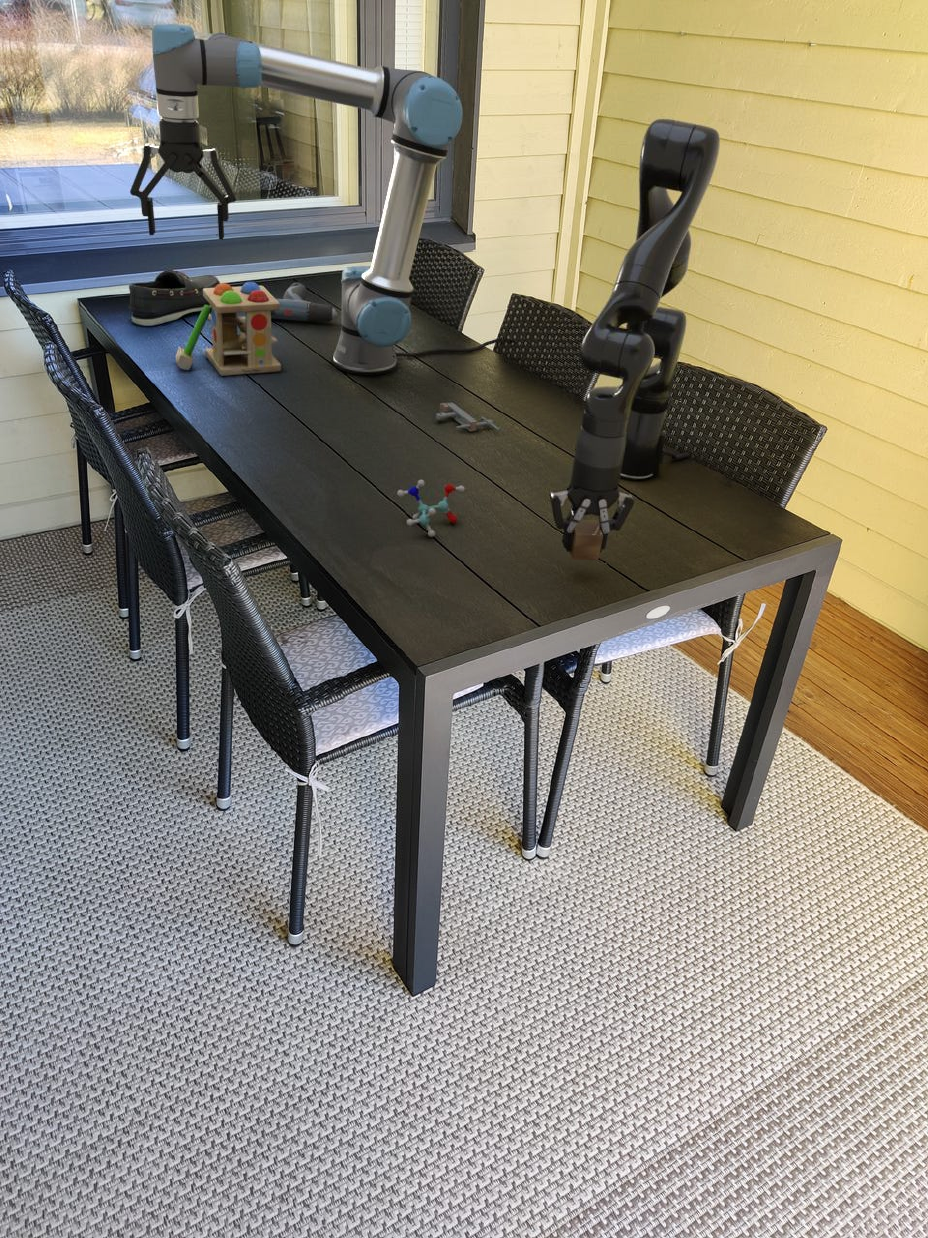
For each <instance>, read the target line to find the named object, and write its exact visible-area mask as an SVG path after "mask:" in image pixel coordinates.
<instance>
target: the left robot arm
mask: <svg viewBox="0 0 928 1238" xmlns="http://www.w3.org/2000/svg"><path fill="white" fill-rule="evenodd" d="M151 45H152V46H151V47H152V51H151V52H152V62H153V71H154V82H155V96H156V107H157V108H156V109H157V115H158V116H159V117H160V119H159V120H158V130H159V146H155V145H152V144H151V143H149V142H148V143H145V145H144V146H143V149H142V150H143V152H142V153H143V154H142V155H143V157H142V160H141V163H140V165H139V168H138V170H137V173H136V176H135V178H134V180H133V183H132V185H131V188H130V191H129V194H130V195H131V196H134V197H137V198H138V199H139V200H140V208H141V215H142V216H143V217H147V222H148V235H149V236H154V235H155V234H156V223H155V213H154V212H155V211H154V199H153V197H149V195H150V194H151V193H152V191H153V190H154V189H155V188H156V186H157V185H158V184H159V182H161V180H162V179H163V177H164V176H165V175H166V174H167V172H168V171H169V170H170V171H171V172H173V173H177V174H178V173H184V174H192V173H193V172H194V173H195V174H196V176H197V177H199V178H200V180H201V181H202V182H203V183H204V185H205V186H206V187H207V188H208V189H209V190H210V192H211V193H212V194H213V195H214V197H215V198H216V199H217V201H219V202H218V203H217V204H216V211H217V224H218V225H217V227H218V229H217V230H218V240H221V241H222V240H224V238H225V226H224V225H225V224H224V223H225V222H226V223H227V222H228V221H229V217H230V216H229V204H231V203H235V202H236V201H237V198H238V195H237V193H236V191H235V189H234V187H233V185H232V183H231V181H230V179H229V177H228V175H227V173H226V171H225V168H224V167H223V166H222V163H221V161H220V156H219V150H218V149H217V148H215V147H213V148H212V149H203V148H202V147H203V146H202V143H201V129H200V128H201V127H200V122H199V121H198V120H197V119H198V118H199V117H200V111H199V109H200V108H199V95H198V86H214V87H225V88H226V87H227V88H240V89H242V90H245V89H256V88H259V87H262V88H267V89H271V90H276V91H279V92H285V93H289V94H293V95H299V96H302V97H307V98H312V99H315V100H321V101H325V102H330V103H335V104H339V105H344V106H347V107H352V108H357V109H361V110H366V111H368V113H369V115H370V116H371V117H373V118H377V119H382V120H385V121H388V122H390V123H392V124H394V127H393V132H392V136H391V141H390V143H391V144H392V146H393V148H394V150H395V157H394V162H393V166H392V171H391V174H390V179H389V183H388V187H387V188H388V189H387V191H386V192H387V193H386V197H385V202H384V206H383V211H382V215H381V220H380V223H379V229H378V232H377V237H376V242H375V246H374V251H373V255H372V261H371V264H370V265H352V266H347V267H345V268H344V269H343V270H342V273H341V280H340V283H341V319H340V321H341V324H340V325H341V326H340V329H341V330H340V336H339V338H338V341H337V344H336V348H335V350H334V352H333V361H332V362H333V363H332V364H333V366H334V367H335V368H337V369H338V370H339V371H342V372H344V373H347V374H352V375H356V376H380V375H381V376H382V375H386V374H389V373H391V372H393V371H395V369H396V368H397V361H398V359H397V357H405V358H406V357H407V358H413V357H421V356H425V355H429V354H435V353H470V352H477V351H479V350H481V349H483V348H485V347H487V346H490V345H493V344H496V343H498V342H502V341H509V342H510V343H513V342H512V341H510V340H508V339H504V340H502V337H503V336H500V337H501V338H500V337H497V338H494V339H492V340H489V341H486V342H483V343H481V344H480V345H478V346H474V347H468V348H450V347H447V348H445V347H444V348H443V347H442V348H441V347H440V348H433V349H428V350H423V351H419V352H395V347H394V346H395V345H397V344H399V343H401V342H402V341H403V340H404V339H405V338H406V337H407V335H408V334H409V332H410V329H411V327H412V314H411V310H410V305H411V301H412V297H413V293H414V286H413V284H412V283H411V280H410V275H411V271H412V268H413V263H414V259H415V254H416V252H417V248H418V242H419V239H420V234H421V232H422V231H421V230H422V227H423V221H424V218H425V213H426V211H427V210H426V209H427V206H428V201H429V198H430V193H431V189H432V186H433V181H434V177H435V173H436V169H437V166H438V164H439V163H441V162H442V161H443V160H445V159H446V158H447V155H448V151H449V146H450V143H451V142H452V141H453V140H454V138H456V137H457V135H458V133H459V132H460V129H461V127H462V123H463V117H464V115H463V114H464V113H463V105H462V101H461V99H460V97H459V95H458V93H457V92H456V91H455V89H454V88H453V87H452V85H451V84H449V83H448V82H447V81H446V80H445V79H443V78H440V77H438V76H434V75H432V74H431V73H428V72H426V71H422V70H414V69H402V68H395V67H389V66H383V65H377V66H376V67H375V68H374V69H372V68H368V67H364V66H360V65H355V64H351V63H346V62H342V61H337V60H335V59H330V58H325V57H320V56H317V55H312V54H307V53H303V52H299V51H295V50H292V49H291V50H290V49H286V48H282V47H277V46H274V45H269V44H265V43H261V42H257V41H250V40H247V39H243V38H239V37H234V36H231V35H230V34H228V33H225V32H217V33H213V34H211V35H210V36H208V37H207V38H206V39H204V38H203V39H201V38H196V35H195V31H194V29H193V27H191V26H189V25H184V24H176V23H156V24H155V25H153V27H152V28H151ZM157 154H158V155H159V157H160V158H161V159H162V161H163V162H164V163H163V164H162V166H160V168H159V169H158V171H156V173H155V174H154V176H153V177H152V179H151V180H150V181H149V182H148V184H147V185H146V186H145V187H144V189H140V188H141V186H142V183H143V181H144V179H145V176H146V174H147V172H148V169H149V166H150V164H151V161H152V159H154V158H155V157H156V155H157ZM204 158H206V159H207V162H208V163H211V165H212V168H213V169H214V171H215V173H216V176H217V177H218V180H219V181H220V183H221V185H222V187H223V189H224V191H223V190H222V188H220V187H219V185H218V184H217V183H216V181H215V180H214V179H213V178H212V177H211V175H210V174H209V173H208V172H207V170H206V169H205V167H204V166H203V165H202V164H201V161H202V160H203V159H204ZM224 192H225V193H226V194H225V193H224ZM499 338H500V340H499Z"/></svg>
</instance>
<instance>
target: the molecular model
mask: <svg viewBox="0 0 928 1238" xmlns="http://www.w3.org/2000/svg"><path fill="white" fill-rule="evenodd" d="M425 484H426V483H425V480H424V479H419V480H418V481H417V484H416V485H415V486H411V487H410V488H409V489H408V490H403V489H399V490H398V491H397V496H398V497H400V498H402V497H404V496H405V495H410V496H412V497H415V499H416V501H417V503H418V505H419V506H418V509H417V510H418V512H417V513H415V514H413V516H412V518H408V519H407V520H406V525H407V526H408V527H411V526H412V527H413V525H414V524H420V525H422V526H425V527H426V530H427V531H428V532H427V535H428V536H429V537H430V538H434V537H435V536H436V532H435V531H434V529H432V528H431V526H430V524H429V523H430V521H431V519H430V518H431V516H434V515H436V512H437V511H436V510H439V511H441V512H443V513H444V514H445V516H446V517H447V518H448V522H449V523H450V524H456V523H457V522H458V516H457V515H456V514H454V513H453V512H452V511H451V509H450V508H449V504H448V502H447V501H448V499H449V495H450V494H452V492H453V491H456V492H457V491H458V492H459V493H463V492H465V489H466V488H465V486H464V485H459V486H453V485H452V484H451V483H447V484H445V486H444V491H445V493H444V497H443V500H441V501H439V502H438V503H437V505H429V506H428V505H427V504H425V503H423V501H422V500H421V497H420V496H419V494H420V488H422V487H424V486H425Z"/></svg>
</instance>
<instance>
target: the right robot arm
mask: <svg viewBox="0 0 928 1238" xmlns="http://www.w3.org/2000/svg"><path fill="white" fill-rule="evenodd" d="M720 144H721V137H720V133H719V131H718V130H716V129H715V128H713V127H711V126H706V125H702V124H696V123H693V122H688V121H682V120H675V119H671V118H656V119H655V120H653V121H652V122H651V123H650V124H649V126H648V127H647V128H646V131H645V133H644V136H643V139H642V142H641V147H640V154H639V164H638V165H639V167H638V217H637V218H638V219H637V227H636V233H635V234H636V235H635V242H634V243H633V244H632V245H631V247H629V249H628V251H627V252H626V254H625V255H624V257H623V260H622V261H621V265H620V268H619V270H618V274H617V277H616V279H615V283H614V285H613V287H612V290H611V291H612V292H611V294H610V296H609V298H608V300H607V301H606V303H605V305H604V306H603V308H602V310H601V311H600V313H599V314H598V315H597V317H596V318H595V320H594V321H593V323H592V324H591V325H590V327H589V328H588V330H587V331H586V333H585V334H584V336H583V339H582V341H581V344H580V348H579V358H580V362H581V365H582V367H583V368H584V369H585V371H587V372H590V373H593V374H597V375H602V376H605V377H610V378H615V379H619V380H622V382H621V384H620V385H614V386H612V385H611V386H608V385H607V386H596V387H593V388H591V389H590V390H589V391H588V392H587V394H586V397H585V400H584V407H583V412H582V417H581V418H582V419H581V425H580V430H579V432H578V436H577V440H576V445H575V447H574V451H575V452H574V460H573V465H572V471H571V477H570V483H569V485H568V486H567V488H566V489H565V490H563V491H559V492H558V491H556V490H554V489H553V490H551V491H549V500H550V505H551V510H552V516H553V519H554V523H555V526H556V529H558V530H563V533H562V538H561V539H562V540H561V543H562V546H563V548H564V549H565V550H566V552H568V553H570V552H571V550H572V544H573V538H574V530H575V528H576V526H577V524H578V522H580V521H581V520H583V517H584V516H591V515H592V516H594V517H595V516H596V517H598V524H599V527H600V529H601V532H602V534H603V538H602V544H601V549H600V553H602V550H605V548H606V547H607V542H608V536H609V533H610V532H611V531H620V530H621V529H622V527H623V525H624V524H625V522H626V520H627V518H628V516H629V514H630V512H631V511H632V509H633V507H634V505H635V500H634V497H633V495H632V494H631V492H629V491H627V492H625V493H623V492H621V491H619V486H620V485H619V484H620V479H625V480H631V481H645V480H651V478H658V474H659V470H660V465H663V463H664V458H665V456H670V457H671V459H672V460H674V461H679V460H683V459H686V458H689V457H690V453H689V452H683V453H679V454H676V453H675V452H674V451H672V450H666V449H665V448H664V446H665V441H666V437H667V432H666V431H665V430H664V427H665V423H666V417H667V414H668V413H667V412H668V407H669V403H670V398H671V394H672V390H673V385H674V384H673V383H674V378H675V374H676V369H677V364H678V362H679V361H678V360H679V357H680V353H681V349H682V346H683V342H684V339H685V334H686V330H687V315H686V313H685V312H684V311H683V310H680V309H674V308H668V307H662V306H659V304H660V301H661V299H662V298H664V297H665V296H666V295H668V294H669V293H670V292H671V291H673V290H674V289H675V288H676V287H677V286H678V285H679V284H680V283H681V282H682V281H683V279H684V278H685V276H686V274H687V271H688V267H689V262H690V255H691V248H692V237H691V232H690V230H689V229H690V228H691V225H692V223H693V221H694V218H695V216H696V214H697V212H698V209H699V208H700V205H701V203H702V201H703V199H704V197H705V195H706V192H707V190H708V187H709V185H710V183H711V180H712V178H713V175H714V172H715V169H716V166H717V162H718V158H719V154H720V153H719V152H720ZM668 190H669V191H673V192H679V193H680V196H678V199H677V200H676V202H675V203H674V202H673V201H672V199H671V196H670V194H669V191H668ZM625 324H626V325H625ZM622 325H625V326H626V327H625V328H624V327H621V326H622ZM654 359H656V360H657V359H658V360H660V361H659V362H657V363H655V364H653V362H654ZM652 364H653V365H652ZM567 499H568V501H569V502H570V503H571V505H570V508H569V510H568V513H567V515H566V518H564V517H563V512H562V507H563V506H564V505H565V503H566V500H567ZM616 502H617V504H618V505H617V507H616V509H615V511H614V513H613V515H612V516H611V518H610V519H609V511H608V510H609V509H610V508H611V507H612V506H613V505H614V504H615V503H616Z"/></svg>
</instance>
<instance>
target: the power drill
mask: <svg viewBox="0 0 928 1238" xmlns="http://www.w3.org/2000/svg"><path fill="white" fill-rule="evenodd" d="M307 295H308V290H307V287H306V285H304V284H303V283H301V282H293V283H292V284H291V285H290V286H289V287H288V288H287V289H286V291H285V292H284V294H283V297H282V298H275V299H276V300H277V301H278V302H279V303H280V310H271V319H274V320H275V319H276V320H283V321H294V322H295V321H297V322H332V321H333V320H334V319H336V318H337V317H338V312H337V311H336V308H334V307H333V306H332V305H331V304H324V303H317V302H313V301H307V300H305V299H306V297H307Z"/></svg>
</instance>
